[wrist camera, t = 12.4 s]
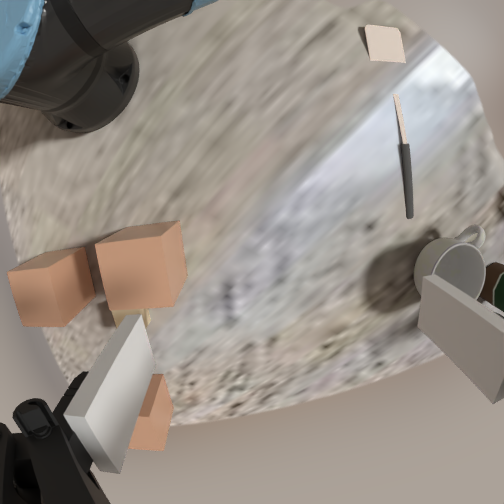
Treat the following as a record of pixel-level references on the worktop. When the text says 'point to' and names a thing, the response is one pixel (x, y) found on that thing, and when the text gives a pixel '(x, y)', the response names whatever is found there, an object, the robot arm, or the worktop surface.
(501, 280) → the beer bottle
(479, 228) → the teacup
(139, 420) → the tan peach cube
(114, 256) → the smooth terracotta cube
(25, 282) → the peach colored cube
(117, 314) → the beige cube
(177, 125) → the worktop surface
